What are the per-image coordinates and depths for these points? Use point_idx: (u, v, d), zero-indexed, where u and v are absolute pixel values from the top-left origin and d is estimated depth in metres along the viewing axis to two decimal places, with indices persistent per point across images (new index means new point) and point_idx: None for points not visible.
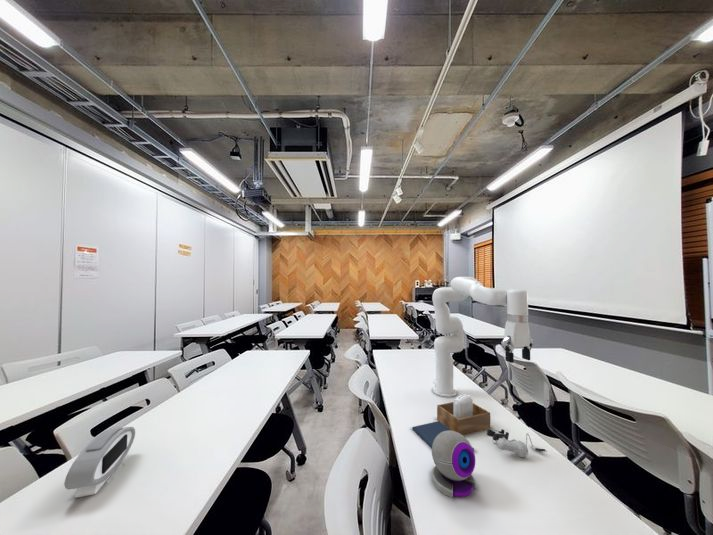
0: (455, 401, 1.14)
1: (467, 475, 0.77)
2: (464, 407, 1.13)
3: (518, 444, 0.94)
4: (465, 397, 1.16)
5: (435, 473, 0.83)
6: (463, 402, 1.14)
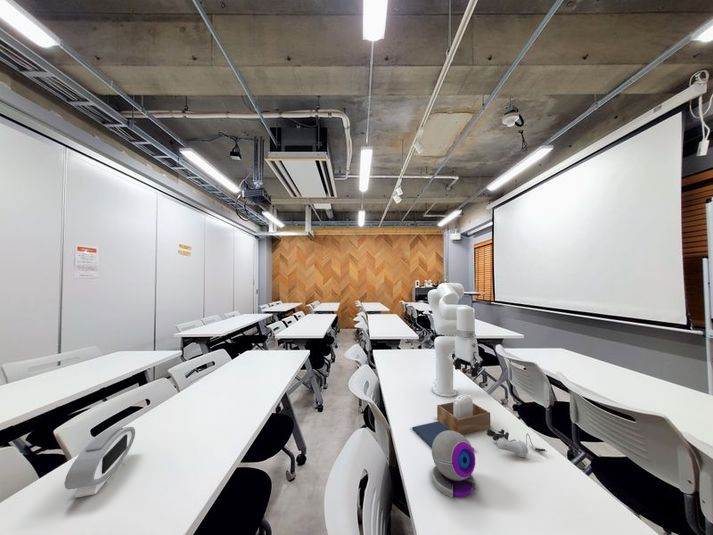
0: (455, 401, 1.14)
1: (467, 475, 0.77)
2: (464, 407, 1.13)
3: (518, 444, 0.95)
4: (465, 397, 1.16)
5: (435, 473, 0.83)
6: (463, 402, 1.14)
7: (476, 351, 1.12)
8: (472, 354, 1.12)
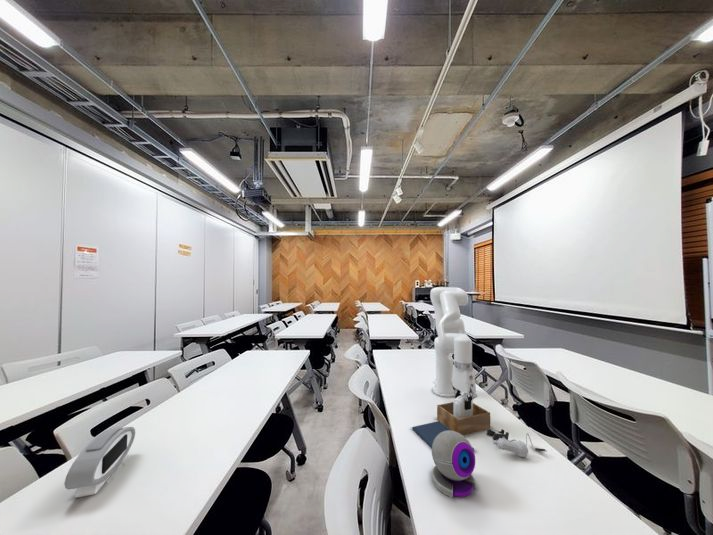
0: (455, 401, 1.14)
1: (467, 475, 0.77)
2: (464, 407, 1.13)
3: (518, 444, 0.95)
4: None
5: (435, 473, 0.83)
6: (463, 402, 1.14)
7: (473, 383, 1.13)
8: (469, 387, 1.12)
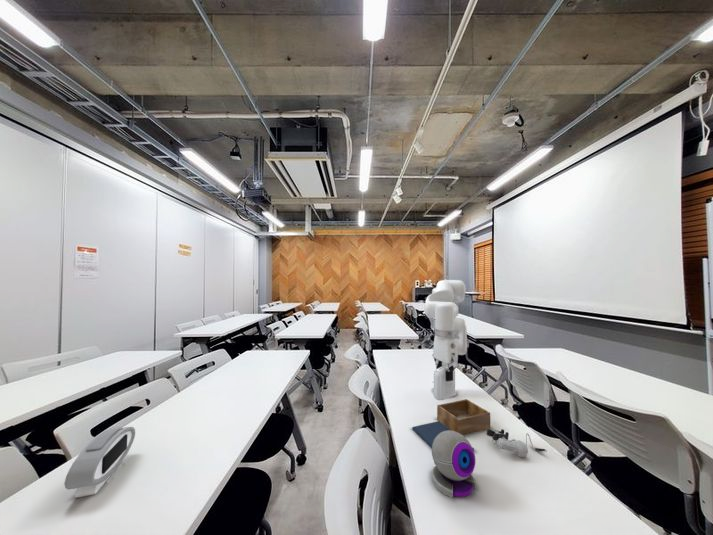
0: (436, 372, 1.05)
1: (467, 475, 0.77)
2: (445, 378, 1.04)
3: (518, 444, 0.95)
4: None
5: (435, 473, 0.83)
6: (444, 372, 1.04)
7: (455, 352, 1.03)
8: (450, 355, 1.02)
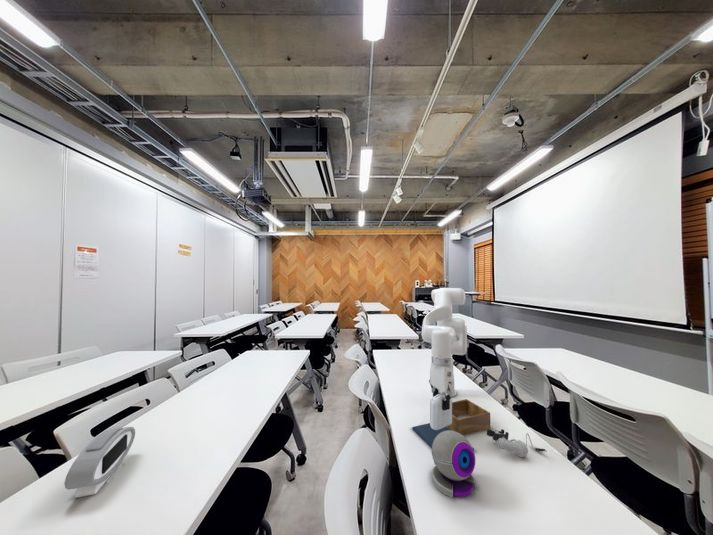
0: (432, 400, 1.03)
1: (467, 475, 0.77)
2: (441, 407, 1.02)
3: (518, 444, 0.95)
4: None
5: (435, 473, 0.83)
6: (441, 401, 1.02)
7: (451, 381, 1.01)
8: (447, 384, 1.00)
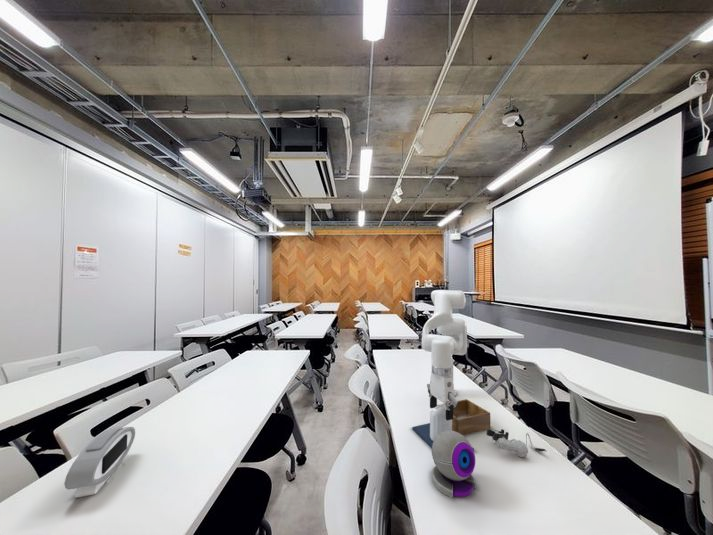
0: (432, 412, 1.03)
1: (467, 475, 0.77)
2: (441, 418, 1.02)
3: (518, 444, 0.95)
4: (443, 407, 1.04)
5: (435, 473, 0.83)
6: (441, 413, 1.02)
7: (451, 391, 1.01)
8: (447, 395, 1.00)
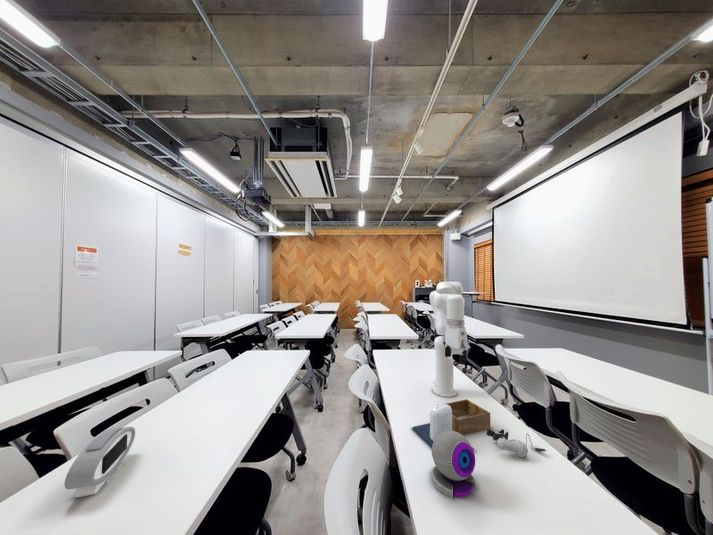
0: (432, 412, 1.03)
1: (467, 475, 0.77)
2: (441, 418, 1.02)
3: (518, 444, 0.95)
4: (443, 407, 1.04)
5: (435, 473, 0.83)
6: (441, 413, 1.02)
7: (465, 339, 1.15)
8: (461, 342, 1.15)
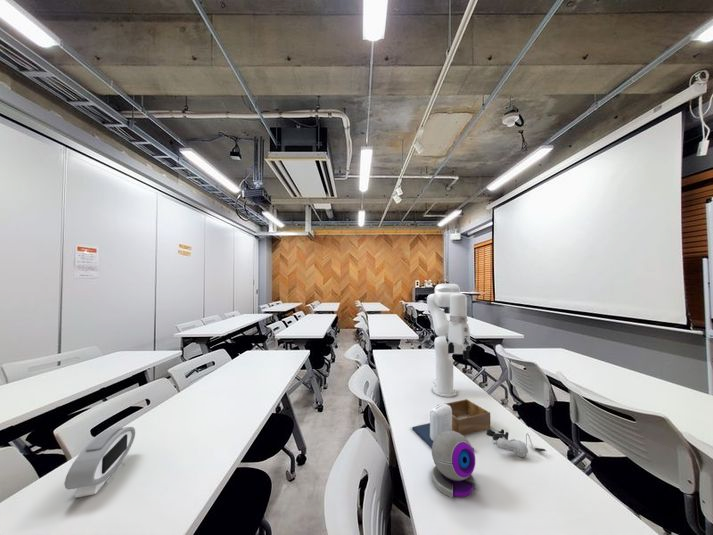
0: (432, 412, 1.03)
1: (467, 475, 0.77)
2: (441, 418, 1.02)
3: (518, 444, 0.95)
4: (443, 407, 1.04)
5: (435, 473, 0.83)
6: (441, 413, 1.02)
7: (468, 335, 1.19)
8: (464, 338, 1.18)
